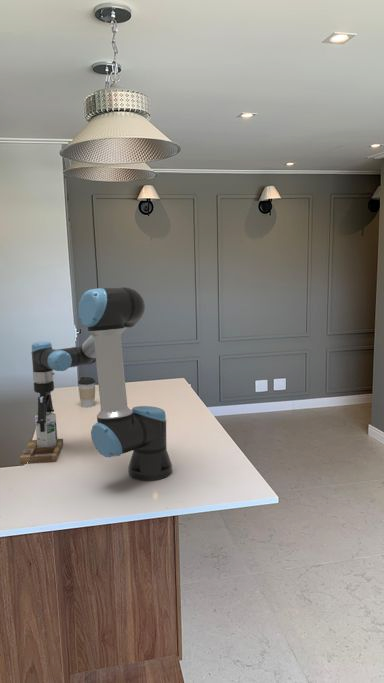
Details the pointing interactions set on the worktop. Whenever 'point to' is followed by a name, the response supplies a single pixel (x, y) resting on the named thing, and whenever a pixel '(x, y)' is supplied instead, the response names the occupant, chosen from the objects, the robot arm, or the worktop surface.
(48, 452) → the socket board
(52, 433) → the syrup box
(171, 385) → the worktop surface
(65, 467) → the worktop surface
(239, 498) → the worktop surface
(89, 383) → the coffee cup
